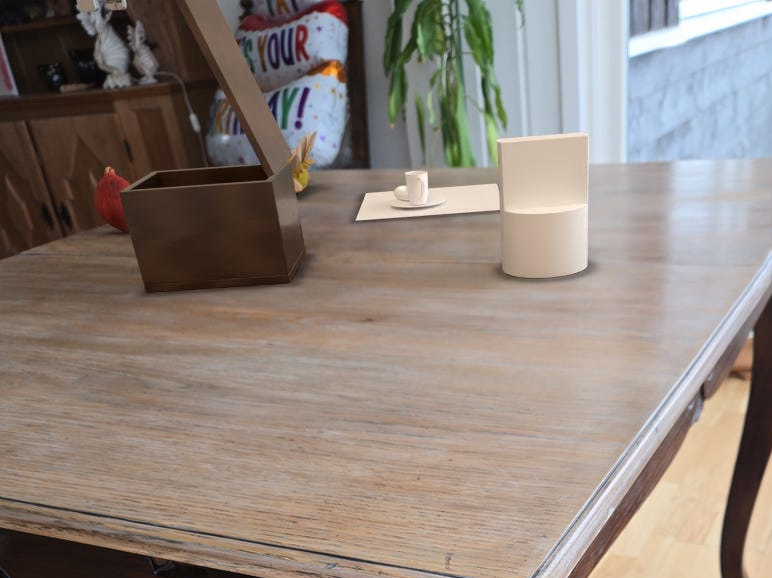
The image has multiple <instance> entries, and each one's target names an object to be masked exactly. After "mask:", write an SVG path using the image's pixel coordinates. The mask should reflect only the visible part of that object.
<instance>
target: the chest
mask: <svg viewBox="0 0 772 578" xmlns="http://www.w3.org/2000/svg"><path fill="white" fill-rule="evenodd" d="M119 196H120V199H121V203H122V207H123V210H124V214H125V218H126V221H127V225H128V229H129V231H128V233H129V235H130V240H131V243H132V247H133V251H134V254H135V258H136V262H137V265H138V269H139V272H140V276H141V280H142V284H143V288H144V292H145V293H160V292H175V291H188V290H189V291H191V290H204V289H218V288H234V287H245V286H246V287H247V286H260V285H261V286H263V285H275V284H290V283H291V282H292V280H293V278H294V276H295V275H296V273H297V271H298V270H299V267H300V265H301V264H302V262H303V260H304V259H305V257H306V255H307V251H306V245H305V240H304V234H303V228H302V223H301V221H302V220H301V216H300V209H299V204H298V197H297V193H296V191H295V185H294V179H293V173H292V167H291V162H286V163H285V164H284V165H283V166H282V167H281V168H280V169H279V170H278V171H277V172H276V173H275V174H274V175H272V176H270V177H267V175H266V173H265V171H264V169H263V167H262V165H261V164H260V163H252V164H239V165H223V166H209V167H197V168H183V169H181V168H180V169H171V170H170V169H169V170H167V169H166V170H154V171H151V172H150V173H148V174H146V175H145V176H143V177H141V178H140V179H138V180H136V181H134V183H132V184H131V185H130V186H128V187H127V188H125V189H123V190H122V191H120V192H119Z"/></svg>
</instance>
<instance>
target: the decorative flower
mask: <svg viewBox="0 0 772 578" xmlns="http://www.w3.org/2000/svg"><path fill="white" fill-rule="evenodd" d="M317 134H318V131H316V130H314V131H313V133H312V134H311V135H310V130H308V131H307V133H306V135H304V136H302V137H301V139H300V141H299V143H298V146H296V147H295V148H293V149H290V151H291V153H292V155H293V156H292V157H291V158H290V159H289V160H288V161H287V162H291V167H292V173H293V179H294V185H295V191H296V194H299V193H300V192H302V191H303V190H304V189H305V188H307V185H308V181H309V180H308V179H310V180H311V181H313V179H312V178H311V176H310V175H309V173H308V172H309V171H308V169H309V168H311V165H313V164H314V163H316V161H317V160H316V159H314V158H309V157H310V155H311V153H312V150H313V148H314V145H315V141H316V138H317Z"/></svg>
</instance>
